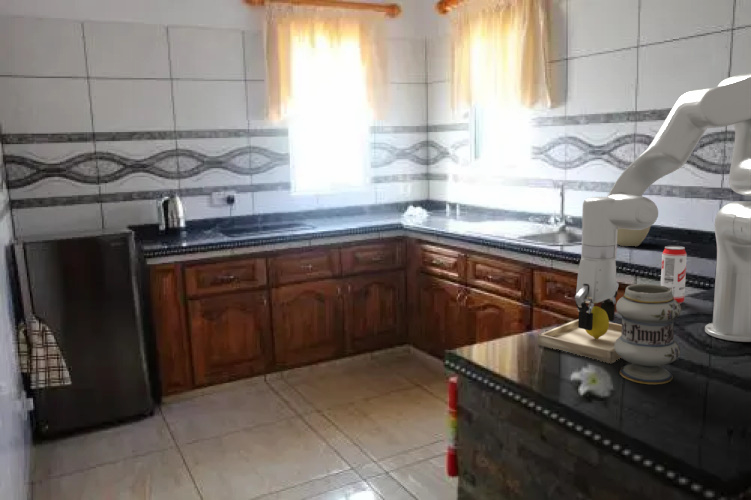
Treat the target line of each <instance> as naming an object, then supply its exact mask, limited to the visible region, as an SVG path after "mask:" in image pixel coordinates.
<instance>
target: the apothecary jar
mask: <svg viewBox="0 0 751 500" xmlns="http://www.w3.org/2000/svg"><path fill="white" fill-rule="evenodd" d="M624 291H625V292H624V293H623V296H621V297H620V298H619V299H618V300H616V303H615V309H616V312H617V313H618V314H619V315H620V316H621V325H622V333H621V336H620V337H619V338H618V339H617V340H616V342H615V345H614V347H615V351H616V352H617V354H618V355H619V356H620V357H621V359H622V360H624V361H626V362H629V364H626V365H624V366H622V367H620V370H619V375H620V376H621V377H622V378H624V379H625V380H627V381H628V380H629V381H631V382H634V383H639V384H642V385H643V384H644V385H663V384H667V383H669V382H672V380H673V378H674V377H673V374H672V373H671V372H670V371H669V370H668V369H665V368H663V367H661V366H665V365H669V364H672V363H673V362H675V361H677V360H678V358H680V355H681V347H680V345H679V343H678V342H677V341H676V340H675V339H674V337H675V335H674V333H675V332H674V331H675V330H674V328H675V326H674V325H675V320H676V319H677V318H678V317H680V315H681V314H682V306H681V304H679V303H678V302H677V301H676V300H675V299H674V298H673V295H672V289H671V288H669V287H665V286H661V284H660V285H658V284H649V283H641V284H640V283H639V284H630V285H627V286H626V287H625V290H624Z"/></svg>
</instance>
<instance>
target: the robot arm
mask: <svg viewBox="0 0 751 500" xmlns="http://www.w3.org/2000/svg"><path fill="white" fill-rule="evenodd" d="M731 125H733V128H734V145H733V151H732V155H731V163H730V169H729V177H728V184H729V187H730V189H731V190H732V191H733V192H734V193H737V194H739V195H743V196H747V197H751V72H750V73H743V74H737V75H733V76H730V77H727V78H725V79H723V80H722V81H720V82H719V84H717V86H715V87H713V86H712V87H707V88H700V89H699V88H698V89H693V90H689V91H687V92H685V93H683V94H682V95H681V96H679V97H678V99H677V100H676V101H675V103H674V105H673V106H672V108H671V110H670V111H669V113H668V114H667V117H665V120H664V121H663V123H662V125H661V126H660V128H659V130H658V131H657V133H656V134H655V136H654V137H653V139H652V141H651V143H650V144H649V146H648V147H647V149H646V150H644V152H642V153H641V154H639V156H637V157H636V158H635V159H634V161H633V162H631V163H630V164H629V165H628V166H627V167H626V168H625V170H623V171H622V173H621V174H620V175H619V176H618V178H617V179H616V181H615V182H614V184H613V186H612V188H611V189H610V191H609V193H608V194H607V196H592V197H588V198H585V199H584V200H583V201H582V215H581V217H582V220H581V222H582V226H581V234H582V235H581V255H580V257H581V258H580V261H579V265H578V272H577V281H576V292H575V293H576V294H575V295H574V299H575V302H576V303H575V305H576V308H577V312H578V319H579V322H578V327H579V328H581V329H586V330H592V326H593V313H591V311H592V308H593V307H594V306H595V304H598V303H600V308H602V309H604V310H605V311H606V313H607V315H608V318H609V322H614V321H615V309H616V303H617V299H616V298H617V296H618V288H619V282H617V266H616V265H617V263H616V260H617V252H618V251H617V248H618V244H617V229H619V228H621V229H632V230H642V229H646V228H648V227H650V228H651V227H652V226H653V225H654V224H655V223H656V222H657V220H658V218H659V209H658V206H657V205H656V203H655V201H653V200H652V199H650V198H648V197H646V196H643V195H644V194H645V193H646V191H647V190H648V189H649V188H650V186H652V185H653V184H655V182H657V181H659V180H660V179H661V178H663V177H665V176H667V175H669V174H673V173H674V172H676V171H677V170H679V169H680V168H681V169H682V167H684V166H685V164H686V163H687V161H688V160H689V158H690V157H691V155H692V153H693V151H694V149H696V147H697V145H698V143H699V142H700V140H701V139H702V137H703V135H704V134H705V133H706V130H707V129H718V128H724V127H728V126H731ZM714 233H715V235H714V236H715V241H716V268H715V269H716V270H715V278H714V279H715V283H714V295H713V296H714V298H713V313H712V322H711V323H710V322H709V323H708V324H706V325H705V326H704V332H705V333H706V334H708V335H709V336H711V337H713V338H717V339H720V340H725V341H732V342H738V343H739V342H741V343H751V201H742V200H741V201H740V200H739V201H732V202H730V203H726V204H725V205H723V206H722V207H721V208H720V209H719V210H718V212H717V213H716V215H715V218H714ZM587 304H588V305H587Z"/></svg>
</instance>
